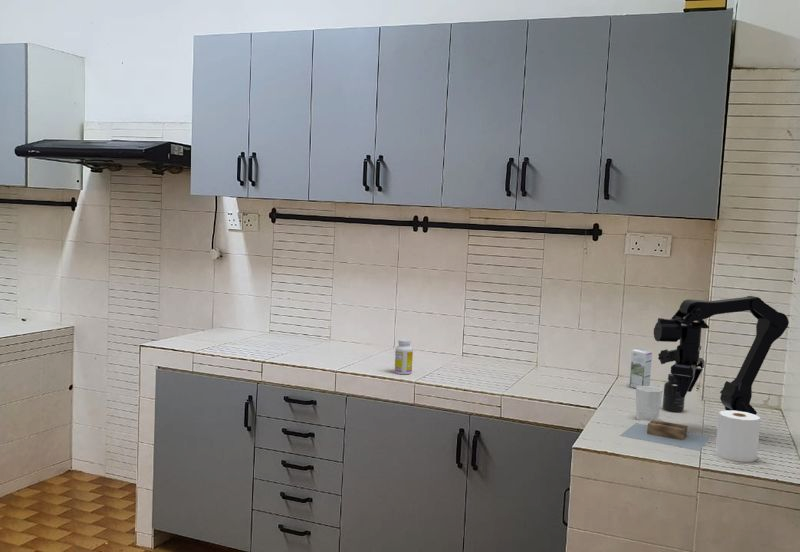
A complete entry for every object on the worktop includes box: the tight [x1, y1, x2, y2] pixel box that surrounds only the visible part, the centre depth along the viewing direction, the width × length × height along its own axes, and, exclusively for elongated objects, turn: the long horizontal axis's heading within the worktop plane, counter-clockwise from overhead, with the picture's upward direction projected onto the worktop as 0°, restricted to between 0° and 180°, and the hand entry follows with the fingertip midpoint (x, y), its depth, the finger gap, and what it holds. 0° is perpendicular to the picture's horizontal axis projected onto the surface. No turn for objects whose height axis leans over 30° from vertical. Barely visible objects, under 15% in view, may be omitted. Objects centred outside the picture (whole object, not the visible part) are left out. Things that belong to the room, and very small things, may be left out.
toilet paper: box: [715, 409, 761, 463], centre depth 213 cm, size 10×10×12 cm
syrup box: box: [629, 348, 653, 390], centre depth 297 cm, size 6×6×14 cm
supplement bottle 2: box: [662, 373, 686, 413], centre depth 265 cm, size 7×7×12 cm
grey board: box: [619, 422, 712, 452], centre depth 230 cm, size 22×18×3 cm
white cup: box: [635, 385, 663, 422], centre depth 251 cm, size 8×8×10 cm
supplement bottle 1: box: [394, 338, 414, 375], centre depth 304 cm, size 7×7×13 cm
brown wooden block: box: [647, 420, 689, 440], centre depth 231 cm, size 10×6×3 cm, turn 59°
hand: (685, 394), depth 235 cm, fingers open, 9 cm apart
